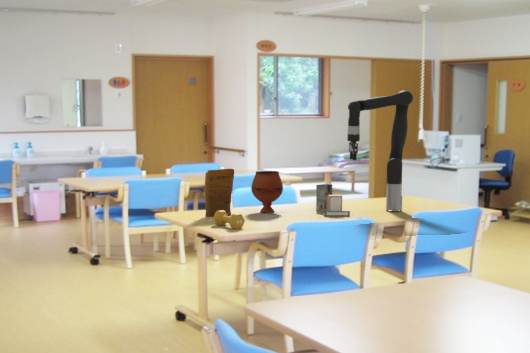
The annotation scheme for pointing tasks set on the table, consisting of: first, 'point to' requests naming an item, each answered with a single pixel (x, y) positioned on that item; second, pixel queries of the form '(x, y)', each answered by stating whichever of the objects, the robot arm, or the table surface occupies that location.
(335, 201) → the shelf carton
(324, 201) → the coffee box
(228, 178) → the pancake mix bag
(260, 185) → the goblet
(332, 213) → the shelf board
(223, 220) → the dumbbell
